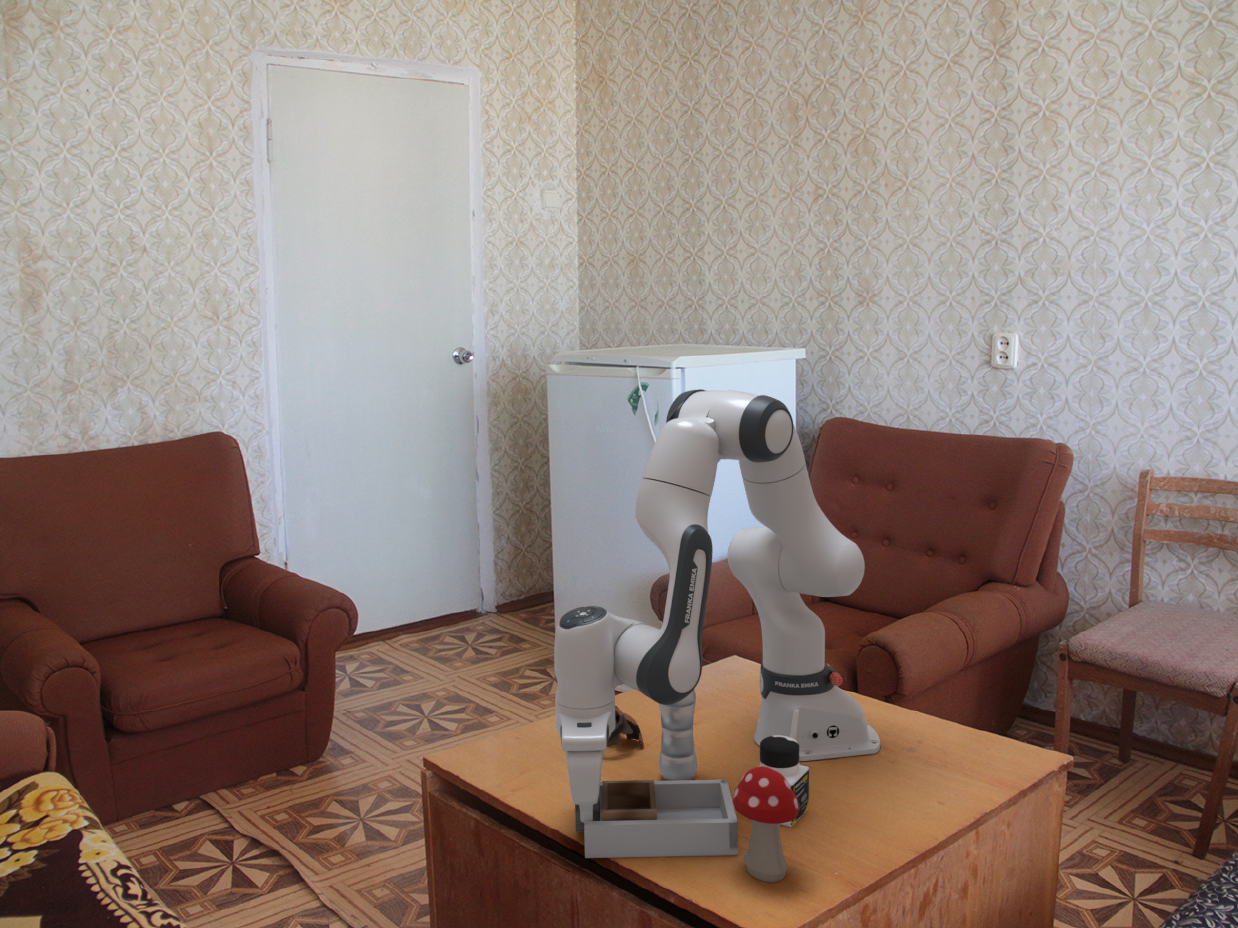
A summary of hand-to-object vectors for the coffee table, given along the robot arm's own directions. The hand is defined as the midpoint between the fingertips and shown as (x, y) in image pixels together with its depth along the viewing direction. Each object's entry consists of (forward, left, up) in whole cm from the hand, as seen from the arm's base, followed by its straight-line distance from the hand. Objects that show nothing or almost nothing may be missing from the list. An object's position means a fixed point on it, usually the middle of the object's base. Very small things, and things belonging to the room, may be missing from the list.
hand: (587, 805), depth 155 cm
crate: (-4, 0, -3) cm, 5 cm away
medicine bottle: (-30, -5, -5) cm, 31 cm away
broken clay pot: (-4, -33, -5) cm, 33 cm away
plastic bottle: (-15, -18, -5) cm, 24 cm away
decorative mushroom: (-25, +12, -5) cm, 28 cm away
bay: (-11, 0, -5) cm, 12 cm away
